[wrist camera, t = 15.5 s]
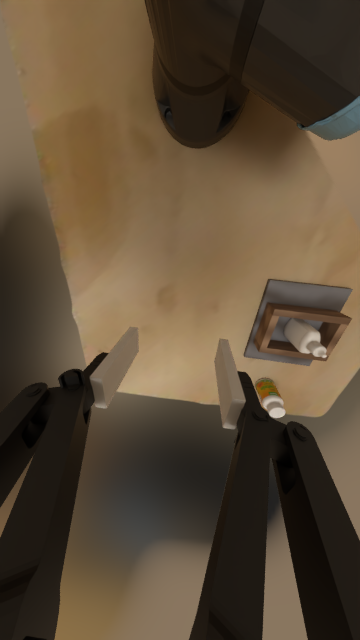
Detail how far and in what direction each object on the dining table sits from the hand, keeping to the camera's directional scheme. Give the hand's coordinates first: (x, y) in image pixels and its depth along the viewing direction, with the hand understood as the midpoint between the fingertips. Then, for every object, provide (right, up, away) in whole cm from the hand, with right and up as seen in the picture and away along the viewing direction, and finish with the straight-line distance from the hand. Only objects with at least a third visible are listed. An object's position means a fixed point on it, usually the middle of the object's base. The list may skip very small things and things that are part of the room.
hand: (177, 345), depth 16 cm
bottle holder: (+29, +1, +26) cm, 39 cm away
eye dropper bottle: (+29, +1, +26) cm, 39 cm away
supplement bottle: (+27, -18, +36) cm, 48 cm away
